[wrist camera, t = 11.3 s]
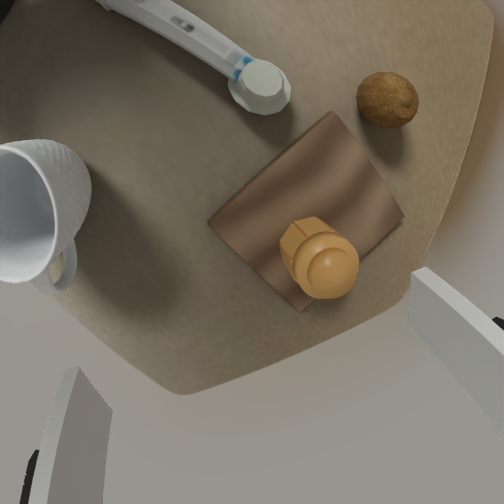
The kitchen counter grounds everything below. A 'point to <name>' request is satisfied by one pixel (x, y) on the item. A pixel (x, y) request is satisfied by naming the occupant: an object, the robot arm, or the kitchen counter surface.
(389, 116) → the fruit
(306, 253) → the acorn cap nut
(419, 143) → the kitchen counter surface
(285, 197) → the post board
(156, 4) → the electric scrub brush
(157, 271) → the kitchen counter surface
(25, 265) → the mug
